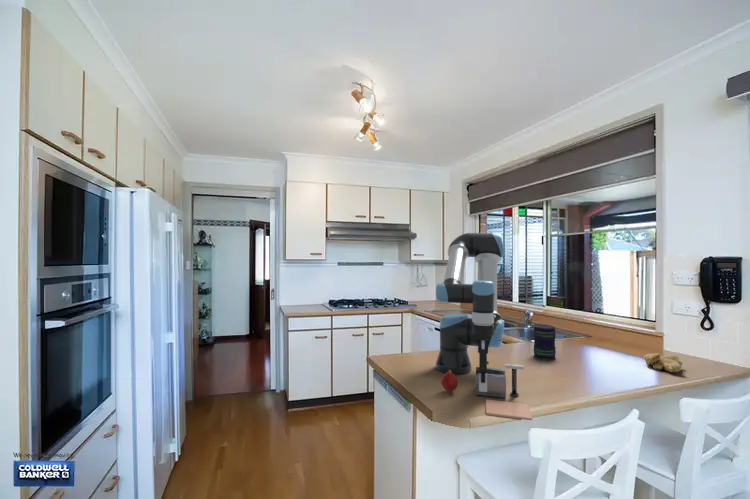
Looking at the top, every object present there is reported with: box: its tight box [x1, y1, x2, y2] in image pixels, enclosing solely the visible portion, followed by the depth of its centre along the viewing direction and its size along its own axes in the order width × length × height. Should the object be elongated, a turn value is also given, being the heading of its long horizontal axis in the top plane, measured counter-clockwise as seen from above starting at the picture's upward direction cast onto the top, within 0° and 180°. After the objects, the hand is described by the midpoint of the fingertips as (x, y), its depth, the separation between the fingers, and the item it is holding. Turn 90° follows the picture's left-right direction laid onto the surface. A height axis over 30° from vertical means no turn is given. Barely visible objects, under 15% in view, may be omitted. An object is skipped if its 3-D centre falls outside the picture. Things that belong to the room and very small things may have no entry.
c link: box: [475, 366, 507, 399], centre depth 130 cm, size 10×9×7 cm
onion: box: [440, 370, 459, 394], centre depth 131 cm, size 6×6×8 cm
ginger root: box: [643, 352, 683, 373], centre depth 161 cm, size 16×16×8 cm
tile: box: [485, 399, 533, 421], centre depth 115 cm, size 13×11×1 cm
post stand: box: [504, 363, 525, 398], centre depth 128 cm, size 6×3×10 cm, turn 73°
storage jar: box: [533, 324, 557, 361], centre depth 178 cm, size 10×10×15 cm
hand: (483, 386), depth 131 cm, fingers closed on c link, 9 cm apart
